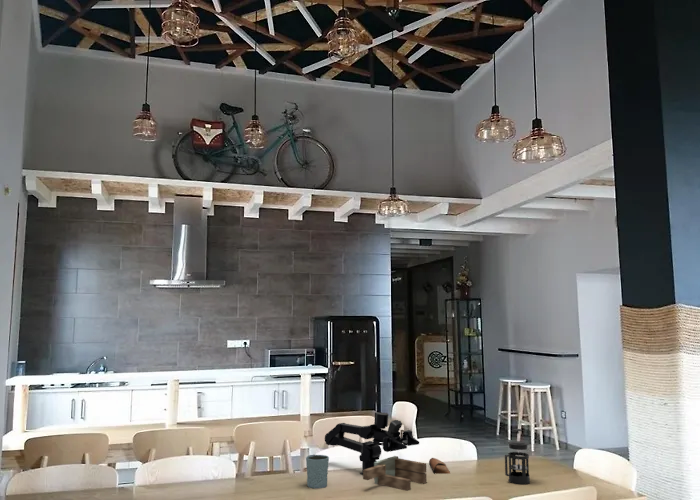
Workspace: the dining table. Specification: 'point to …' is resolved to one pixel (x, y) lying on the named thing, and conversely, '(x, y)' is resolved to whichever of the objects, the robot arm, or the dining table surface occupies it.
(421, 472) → the brown wooden crate
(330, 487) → the dining table surface
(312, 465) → the grey-green cup
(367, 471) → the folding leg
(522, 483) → the french press
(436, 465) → the sunglasses case
